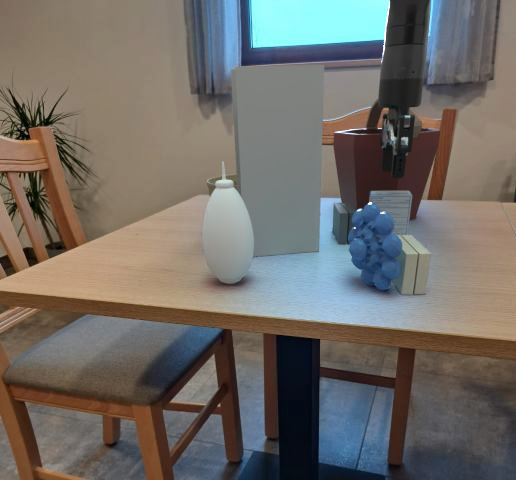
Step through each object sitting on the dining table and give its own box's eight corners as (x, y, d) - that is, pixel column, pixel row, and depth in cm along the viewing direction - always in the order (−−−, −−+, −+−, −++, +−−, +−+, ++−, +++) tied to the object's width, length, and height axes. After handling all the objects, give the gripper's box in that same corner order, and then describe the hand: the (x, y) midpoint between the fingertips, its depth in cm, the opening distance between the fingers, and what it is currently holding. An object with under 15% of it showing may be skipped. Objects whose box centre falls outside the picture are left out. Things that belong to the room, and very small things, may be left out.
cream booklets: (407, 271, 75) (411, 234, 72) (425, 294, 66) (431, 253, 63) (386, 272, 75) (389, 235, 72) (401, 294, 66) (406, 254, 63)
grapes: (326, 278, 73) (328, 201, 67) (361, 272, 75) (367, 196, 70) (369, 304, 64) (377, 215, 58) (409, 295, 66) (419, 209, 60)
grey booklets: (348, 231, 99) (349, 202, 96) (355, 243, 90) (357, 212, 87) (332, 231, 99) (333, 202, 96) (338, 244, 90) (339, 213, 87)
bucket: (434, 228, 99) (452, 95, 87) (329, 227, 102) (334, 100, 90) (417, 205, 120) (431, 96, 108) (331, 205, 123) (335, 99, 112)
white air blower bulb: (211, 274, 77) (201, 158, 69) (257, 274, 76) (253, 157, 68) (201, 291, 70) (189, 164, 62) (252, 291, 69) (247, 163, 61)
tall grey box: (311, 243, 91) (315, 67, 77) (319, 251, 86) (324, 64, 72) (240, 249, 89) (230, 69, 75) (244, 257, 85) (235, 67, 71)
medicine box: (405, 233, 95) (410, 190, 91) (407, 239, 92) (412, 194, 88) (366, 233, 97) (369, 190, 93) (366, 238, 93) (370, 194, 89)
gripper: (436, 74, 75) (422, 179, 82) (412, 78, 87) (402, 169, 95) (389, 75, 75) (379, 180, 82) (372, 79, 87) (365, 170, 95)
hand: (391, 174), depth 89 cm, fingers open, 8 cm apart
